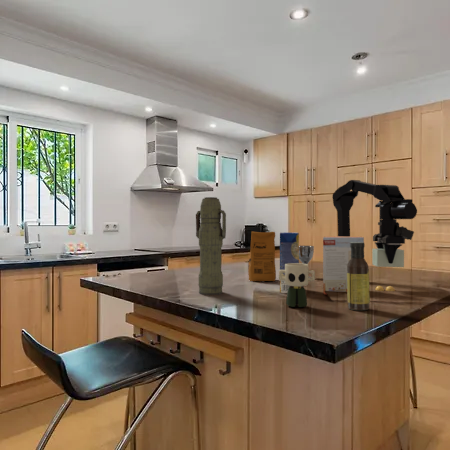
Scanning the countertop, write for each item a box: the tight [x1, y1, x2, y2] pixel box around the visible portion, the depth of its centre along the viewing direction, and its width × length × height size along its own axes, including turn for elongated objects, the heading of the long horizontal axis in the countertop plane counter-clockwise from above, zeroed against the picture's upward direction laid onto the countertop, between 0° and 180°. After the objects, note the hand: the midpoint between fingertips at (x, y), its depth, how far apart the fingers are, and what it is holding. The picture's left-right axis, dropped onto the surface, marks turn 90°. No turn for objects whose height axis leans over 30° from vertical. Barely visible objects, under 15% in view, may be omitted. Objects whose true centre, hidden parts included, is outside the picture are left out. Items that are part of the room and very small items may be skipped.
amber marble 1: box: [374, 285, 385, 292], centre depth 137 cm, size 3×3×3 cm
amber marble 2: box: [385, 285, 396, 292], centre depth 137 cm, size 3×3×3 cm
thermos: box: [195, 196, 227, 296], centre depth 140 cm, size 9×12×35 cm
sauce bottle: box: [346, 242, 371, 312], centre depth 113 cm, size 6×6×20 cm
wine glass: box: [299, 245, 315, 278], centre depth 179 cm, size 8×8×15 cm
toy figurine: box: [278, 262, 316, 308], centre depth 116 cm, size 11×7×13 cm, turn 80°
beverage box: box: [279, 232, 300, 294], centre depth 144 cm, size 7×11×22 cm, turn 170°
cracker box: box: [322, 235, 365, 296], centre depth 137 cm, size 14×6×21 cm, turn 74°
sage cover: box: [371, 248, 405, 268], centre depth 138 cm, size 9×7×6 cm
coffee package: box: [247, 231, 277, 282], centre depth 171 cm, size 10×12×22 cm
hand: (387, 262), depth 138 cm, fingers closed on sage cover, 7 cm apart
